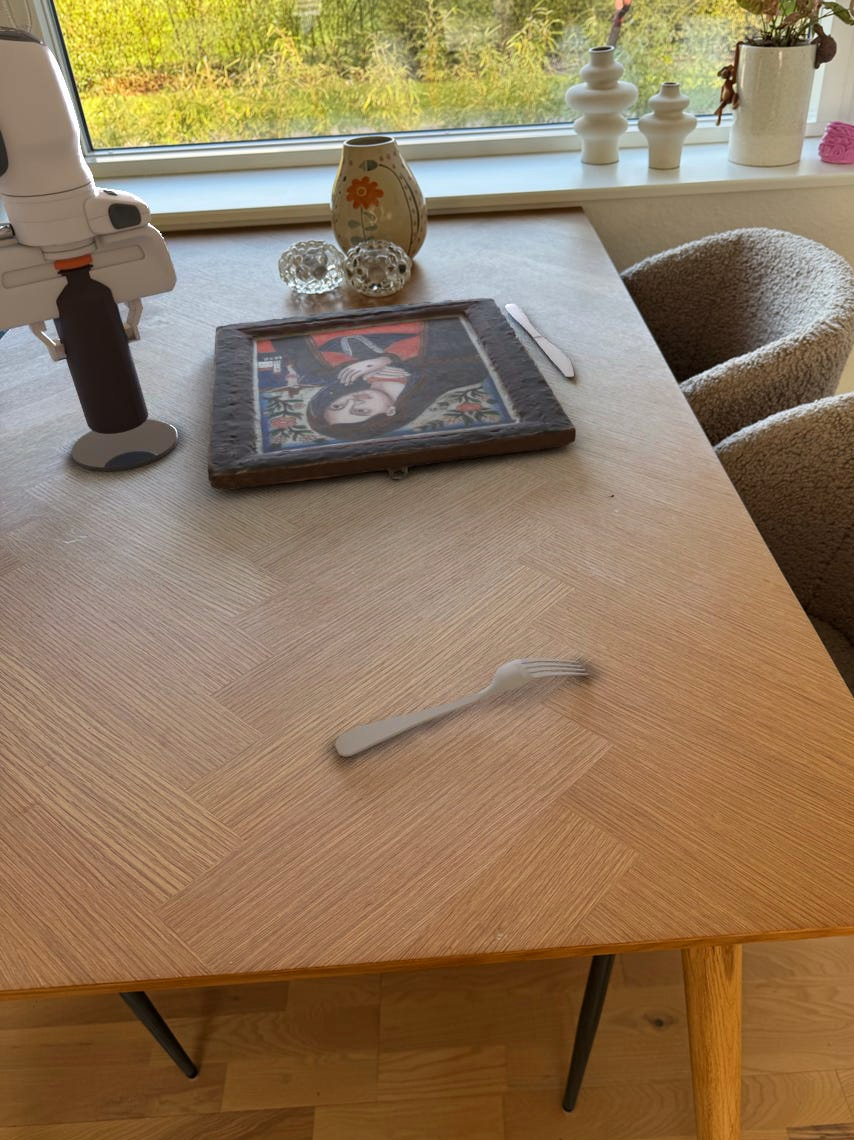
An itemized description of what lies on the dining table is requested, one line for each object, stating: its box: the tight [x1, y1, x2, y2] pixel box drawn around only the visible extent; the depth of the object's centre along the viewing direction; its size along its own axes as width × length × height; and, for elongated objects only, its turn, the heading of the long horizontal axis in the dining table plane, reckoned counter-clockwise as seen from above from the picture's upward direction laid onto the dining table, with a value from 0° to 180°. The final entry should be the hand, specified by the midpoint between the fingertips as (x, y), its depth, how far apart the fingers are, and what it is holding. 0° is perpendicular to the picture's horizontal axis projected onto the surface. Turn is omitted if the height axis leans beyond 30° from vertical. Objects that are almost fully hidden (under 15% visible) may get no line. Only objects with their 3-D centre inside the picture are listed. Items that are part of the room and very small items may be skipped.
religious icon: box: [207, 297, 577, 491], centre depth 119 cm, size 40×45×3 cm
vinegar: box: [52, 254, 149, 434], centre depth 103 cm, size 7×7×20 cm
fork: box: [334, 657, 590, 758], centre depth 74 cm, size 3×21×3 cm, turn 114°
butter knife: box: [504, 303, 575, 378], centre depth 131 cm, size 1×27×3 cm
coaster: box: [71, 418, 179, 472], centre depth 111 cm, size 12×12×1 cm
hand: (97, 349), depth 104 cm, fingers closed on vinegar, 6 cm apart
